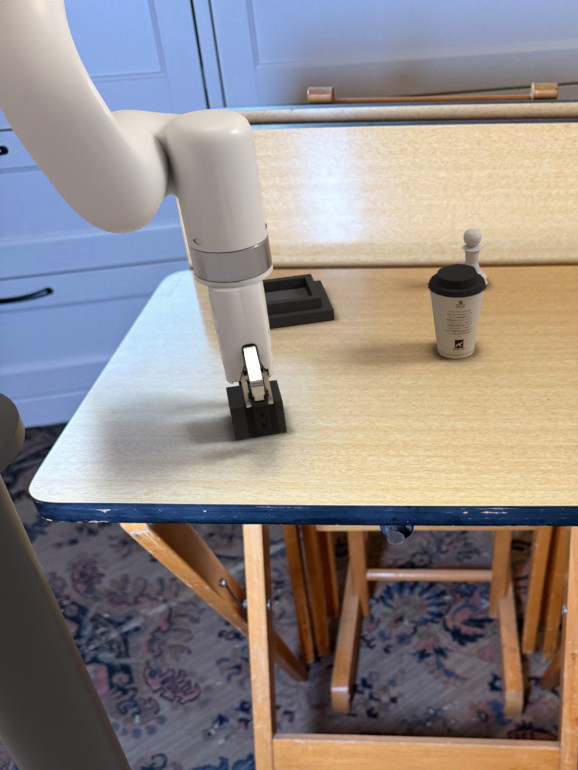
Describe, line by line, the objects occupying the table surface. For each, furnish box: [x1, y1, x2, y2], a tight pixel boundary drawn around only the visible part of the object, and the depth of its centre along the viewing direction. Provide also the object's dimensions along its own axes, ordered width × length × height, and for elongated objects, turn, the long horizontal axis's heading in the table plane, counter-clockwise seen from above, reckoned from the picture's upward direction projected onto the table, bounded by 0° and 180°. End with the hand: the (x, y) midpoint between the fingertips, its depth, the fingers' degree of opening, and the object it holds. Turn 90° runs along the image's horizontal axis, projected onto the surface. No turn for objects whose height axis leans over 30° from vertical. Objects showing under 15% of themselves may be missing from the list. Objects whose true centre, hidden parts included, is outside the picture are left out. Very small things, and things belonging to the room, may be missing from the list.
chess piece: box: [461, 228, 488, 286], centre depth 112 cm, size 5×5×8 cm
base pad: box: [263, 273, 335, 329], centre depth 109 cm, size 12×10×3 cm
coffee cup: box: [427, 263, 487, 360], centre depth 97 cm, size 7×7×10 cm
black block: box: [225, 379, 288, 441], centre depth 87 cm, size 6×5×4 cm
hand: (259, 410), depth 87 cm, fingers open, 9 cm apart
